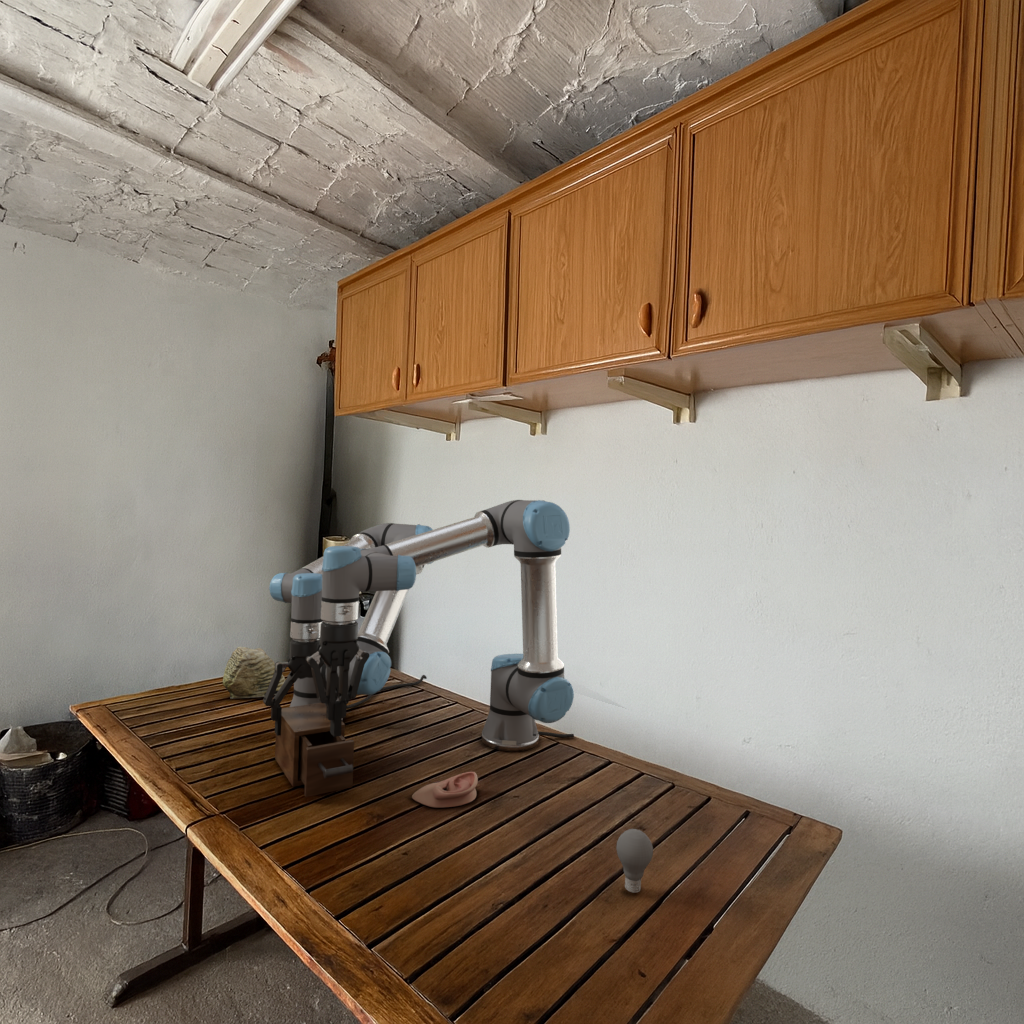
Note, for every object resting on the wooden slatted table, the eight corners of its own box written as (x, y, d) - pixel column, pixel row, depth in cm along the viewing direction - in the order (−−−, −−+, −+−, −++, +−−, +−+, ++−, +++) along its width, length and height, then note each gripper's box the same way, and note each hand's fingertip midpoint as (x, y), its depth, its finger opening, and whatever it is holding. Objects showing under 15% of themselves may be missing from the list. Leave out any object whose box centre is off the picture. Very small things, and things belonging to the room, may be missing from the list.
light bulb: (610, 879, 108) (613, 822, 108) (644, 879, 109) (647, 822, 109) (619, 902, 102) (622, 840, 102) (655, 901, 103) (658, 840, 103)
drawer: (362, 798, 131) (363, 751, 131) (313, 809, 126) (315, 760, 126) (330, 760, 149) (332, 718, 149) (287, 768, 144) (288, 725, 144)
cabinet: (343, 776, 143) (345, 724, 143) (292, 787, 137) (294, 732, 137) (321, 750, 158) (323, 702, 158) (274, 758, 152) (276, 708, 152)
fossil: (218, 695, 195) (220, 647, 195) (278, 685, 208) (279, 640, 207) (228, 703, 189) (230, 653, 188) (289, 692, 201) (290, 645, 201)
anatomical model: (407, 784, 132) (425, 763, 143) (406, 803, 132) (424, 780, 143) (468, 793, 129) (482, 770, 140) (467, 812, 129) (481, 788, 141)
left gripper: (257, 646, 142) (254, 743, 142) (359, 637, 155) (356, 726, 155) (251, 639, 148) (248, 732, 148) (349, 631, 161) (346, 717, 161)
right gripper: (312, 626, 124) (308, 746, 125) (376, 622, 131) (372, 735, 132) (302, 619, 131) (298, 733, 131) (363, 615, 138) (359, 723, 138)
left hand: (303, 729), depth 152 cm, fingers closed on cabinet, 11 cm apart
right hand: (335, 734), depth 131 cm, fingers closed
